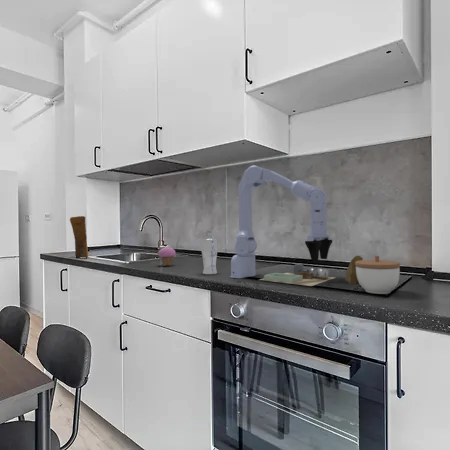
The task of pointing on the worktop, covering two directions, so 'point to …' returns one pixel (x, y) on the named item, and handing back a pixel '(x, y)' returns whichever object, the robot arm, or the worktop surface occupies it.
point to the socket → (305, 275)
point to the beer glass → (209, 255)
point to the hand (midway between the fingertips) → (319, 259)
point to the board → (306, 281)
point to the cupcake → (167, 255)
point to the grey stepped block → (298, 268)
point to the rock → (352, 270)
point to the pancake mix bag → (79, 236)
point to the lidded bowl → (377, 275)
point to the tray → (283, 277)
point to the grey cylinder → (318, 273)
